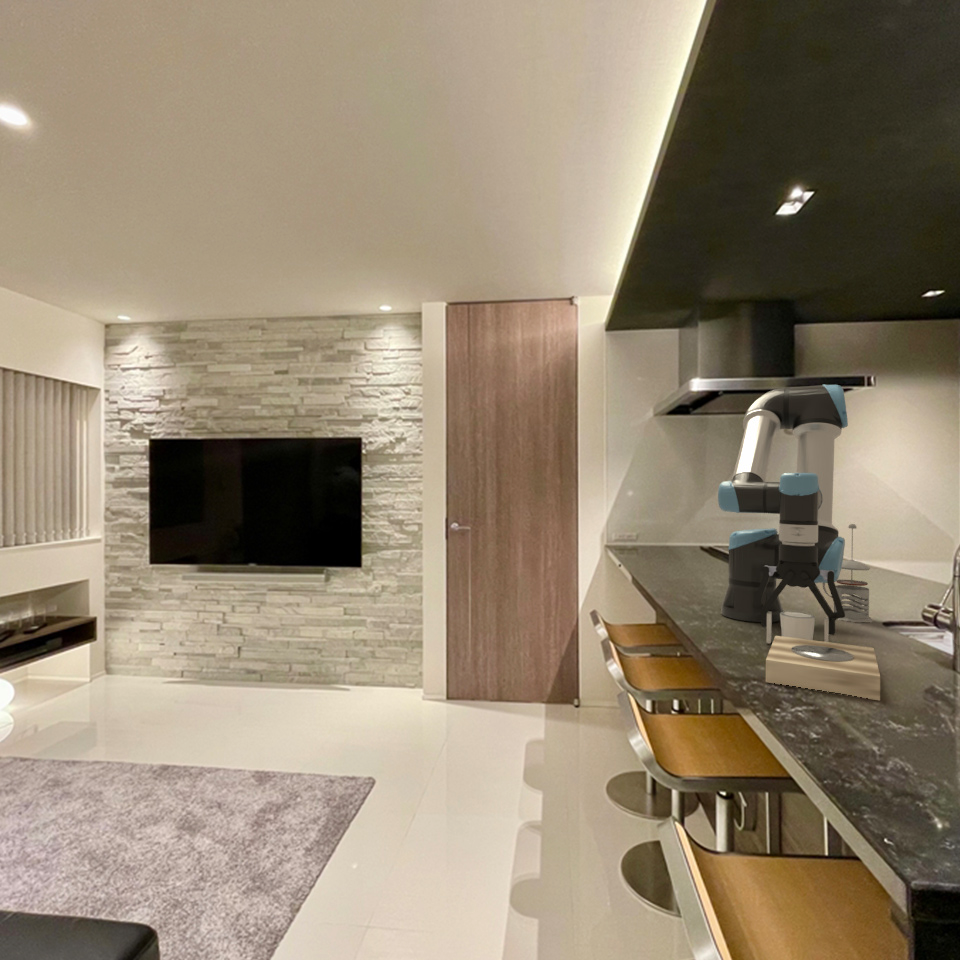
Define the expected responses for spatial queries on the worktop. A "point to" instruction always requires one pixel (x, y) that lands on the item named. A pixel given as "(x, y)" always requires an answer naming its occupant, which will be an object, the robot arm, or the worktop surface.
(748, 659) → the worktop surface
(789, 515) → the robot arm
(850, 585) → the french press
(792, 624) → the tapered cream cylinder
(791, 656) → the birch stand
